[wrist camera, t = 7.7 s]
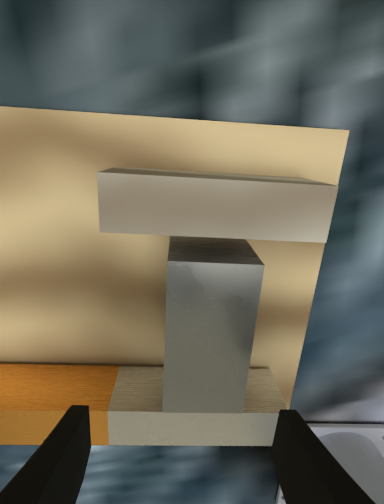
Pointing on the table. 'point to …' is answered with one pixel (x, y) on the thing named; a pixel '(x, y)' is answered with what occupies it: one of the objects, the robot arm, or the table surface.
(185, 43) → the table surface
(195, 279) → the steel block
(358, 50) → the table surface
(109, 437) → the block
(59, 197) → the base
